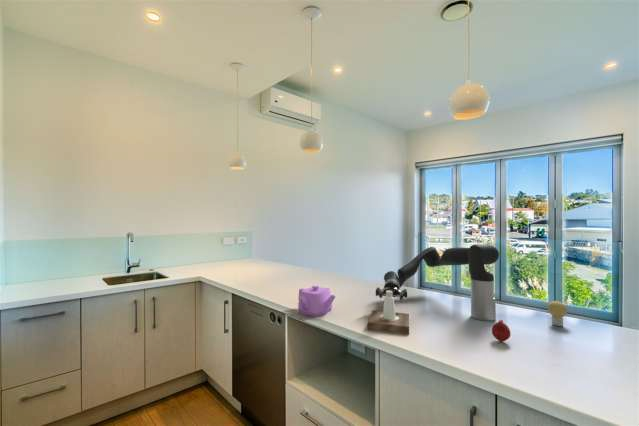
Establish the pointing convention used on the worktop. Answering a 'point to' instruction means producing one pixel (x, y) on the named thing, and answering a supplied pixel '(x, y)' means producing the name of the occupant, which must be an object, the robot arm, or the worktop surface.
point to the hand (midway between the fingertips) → (390, 296)
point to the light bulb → (557, 312)
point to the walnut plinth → (389, 323)
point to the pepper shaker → (389, 306)
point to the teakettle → (315, 301)
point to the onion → (501, 331)
